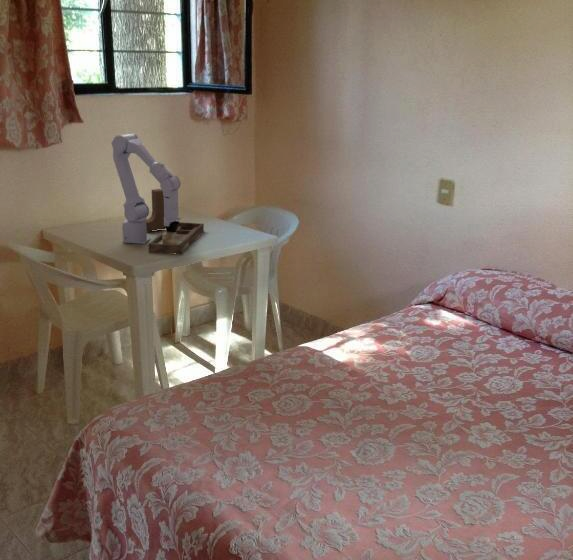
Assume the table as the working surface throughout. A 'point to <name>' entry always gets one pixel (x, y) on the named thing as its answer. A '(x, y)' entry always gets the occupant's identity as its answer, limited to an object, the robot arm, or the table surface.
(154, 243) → the track
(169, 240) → the maple block
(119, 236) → the table surface
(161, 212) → the wooden block
